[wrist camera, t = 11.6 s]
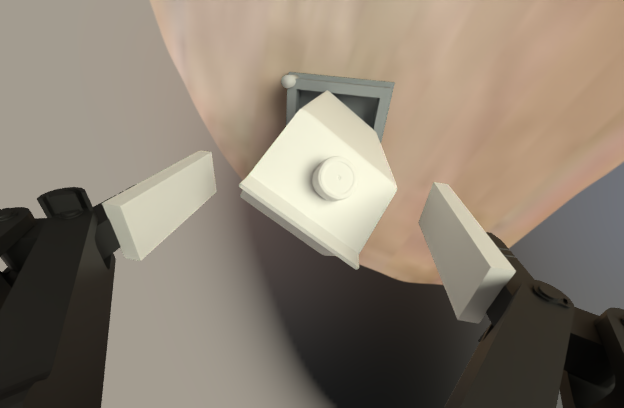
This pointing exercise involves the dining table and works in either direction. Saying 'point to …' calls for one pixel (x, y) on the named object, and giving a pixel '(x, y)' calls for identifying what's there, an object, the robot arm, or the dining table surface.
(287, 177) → the milk carton
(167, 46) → the dining table surface
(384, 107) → the seat block
